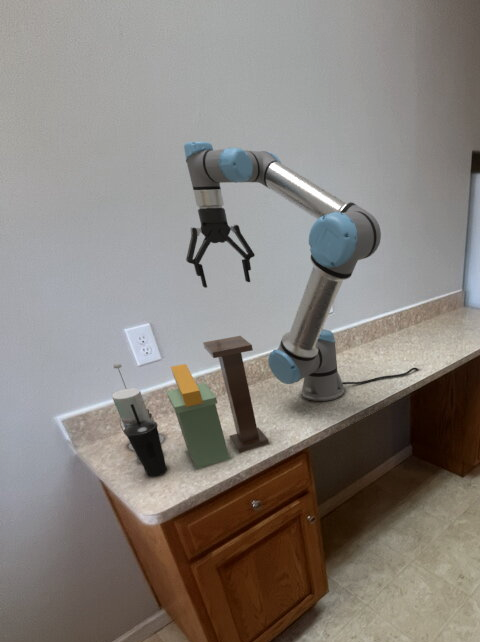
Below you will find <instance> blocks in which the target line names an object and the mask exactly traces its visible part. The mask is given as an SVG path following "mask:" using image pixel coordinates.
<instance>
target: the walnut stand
mask: <svg viewBox="0 0 480 642" xmlns="http://www.w3.org/2000/svg"><path fill="white" fill-rule="evenodd" d="M202 345H203V348H204V349H205V350H206V351H207V353H208V354H209V355H210V356H211V357H212V358H213V359H218V362H219V366H220V370H221V374H222V378H223V383H224V386H225V390H226V395H227V398H228V399H227V400H228V403H229V407H230V410H231V415H232V419H233V423H234V428H235V431H236V433H234V434H231V435H228V437H229V441H230V442H231V444H232V445H233V446H234V448H235V449H236V451H237V453H238V454H240V453H243V452H246V451H250V450H253V449H257V448H260V447H262V446H265V445H269V444H270V442H269V441H270V440H269V438H267V436H266V435H265V434H264V432H263V431H262V430H261V429H260V427H258V426H257V422H256V416H255V412H254V407H253V402H252V397H251V393H250V388H249V383H248V379H247V373H246V370H245V369H246V368H245V364H244V359H243V355H242V353H246V352H251V351H252V352H253V350H254V349H253V344H251V342H249V341H248V340H246V339H245V338H244V337H243V336H242V335H237V336H231V337H226V338H219V339H215V340H208V341H204V342H202Z"/></svg>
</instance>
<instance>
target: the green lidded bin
mask: <svg viewBox="0 0 480 642" xmlns="http://www.w3.org/2000/svg"><path fill="white" fill-rule="evenodd" d="M196 384H197V386H198V388H199V390H200V394H201V397H202V401H203V403H201V404H197V405H193V406H188V407H186V405H185V403H184V400H183V398H182V396H181V393H180V391H179V388H178V387H177V388H175V389H170V390H166V394H167V397H168V400H169V401H170V404H171V406H172V407H173V410H174V412H175V416H176V418H177V419H176V420H177V422H178V425H179V428H180V432H181V435H182V437H183V440H184V444H185V447H186V449H187V452H188V454H189V457H190V459H191V461H192V463H193V465H194V467H195V469H196V470H199V469H202V468H204V467H208V466H212V465H215V464H218V463H220V462H224V461H228V460H230V459H231V457H230V454H229V451H228V447H227V443H226V439H225V436H224V432H223V428H222V424H221V421H220V416H219V412H218V408H217V404H218V399H217V396H216V395H215V394H214V392H213V391H212V390H211V388H210V387H209V386H208V384H207V383H206V382H201V383H196Z"/></svg>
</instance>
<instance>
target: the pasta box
mask: <svg viewBox="0 0 480 642" xmlns="http://www.w3.org/2000/svg"><path fill="white" fill-rule="evenodd" d="M170 369H171V372H172V376H173V378H174V382H175V384H176V387H177V389H178V388H179V391H180V393H181V396H182V398H183V400H184V403H185V405H186V407H188V406H193V405H197V404H201V403H203V401H202V397H201V394H200V390H199V388H198V386H197V384H198V383H196V381H195V379H194V377H193V375H192V373H191V371H190V369H189V367H188V365H187V364H186V363H183V364H177V365H172V366H170Z"/></svg>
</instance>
